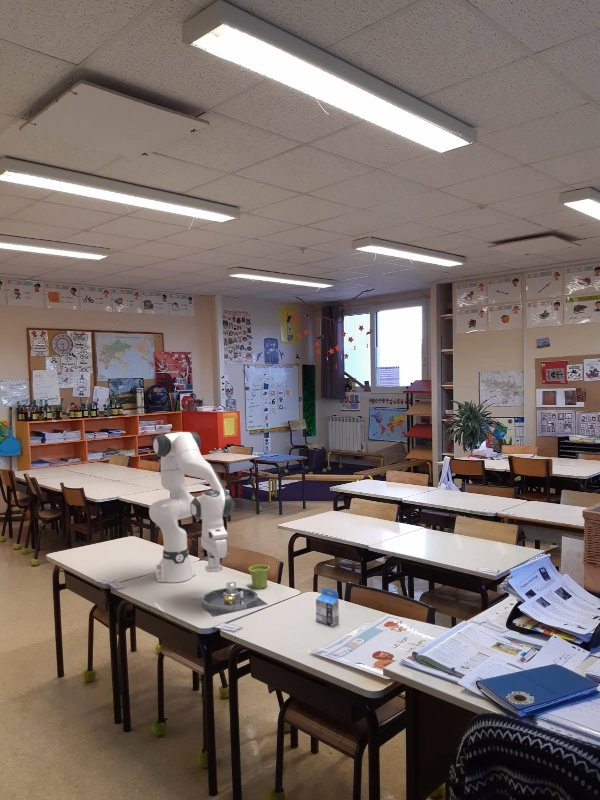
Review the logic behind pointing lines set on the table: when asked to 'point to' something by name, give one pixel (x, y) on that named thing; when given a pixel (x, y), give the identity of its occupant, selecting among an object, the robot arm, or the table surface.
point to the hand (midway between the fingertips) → (213, 563)
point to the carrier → (229, 600)
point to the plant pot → (259, 575)
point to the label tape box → (327, 607)
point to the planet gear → (211, 566)
